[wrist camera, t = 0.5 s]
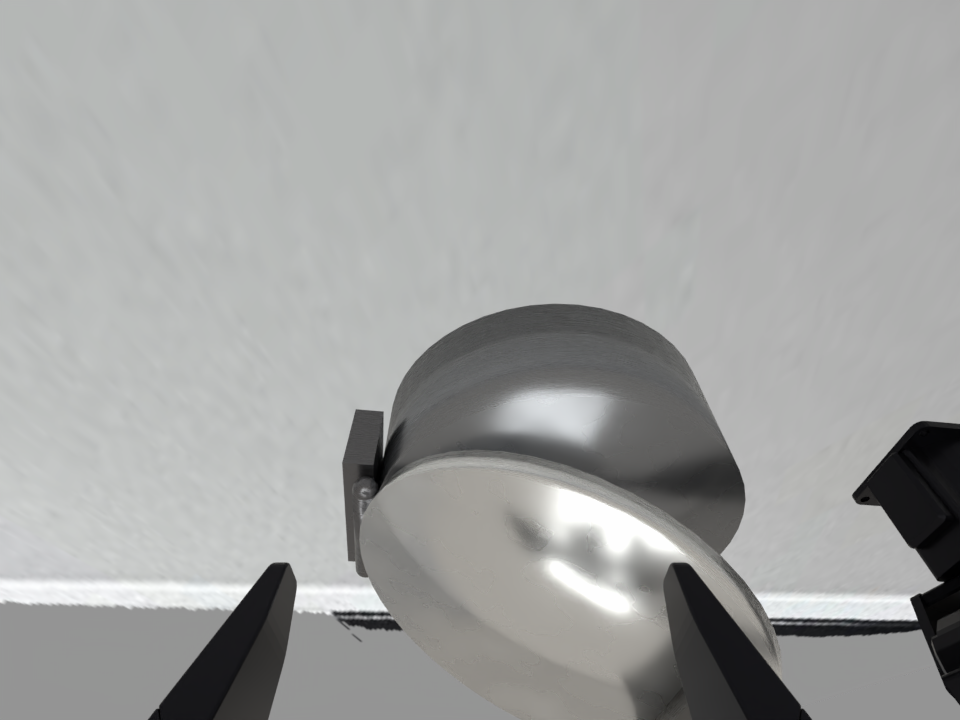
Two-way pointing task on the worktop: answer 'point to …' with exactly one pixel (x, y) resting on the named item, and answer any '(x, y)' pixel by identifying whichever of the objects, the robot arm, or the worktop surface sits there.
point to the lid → (540, 583)
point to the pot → (562, 412)
